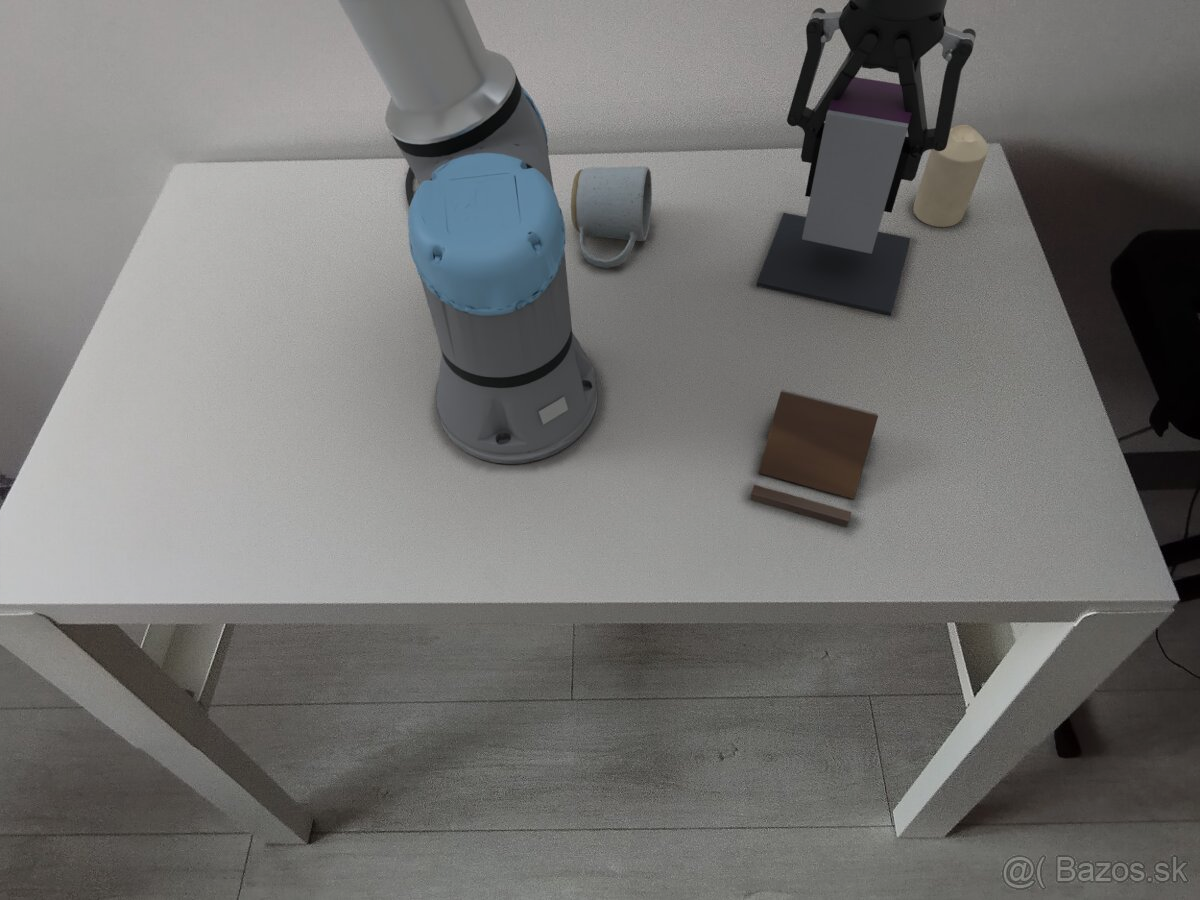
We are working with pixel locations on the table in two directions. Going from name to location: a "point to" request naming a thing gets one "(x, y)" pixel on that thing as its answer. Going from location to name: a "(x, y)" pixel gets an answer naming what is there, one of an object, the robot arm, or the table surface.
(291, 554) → the table surface
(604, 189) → the ceramic mug
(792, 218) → the mat
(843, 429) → the phone stand
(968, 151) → the candle
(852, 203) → the grey box
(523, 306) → the robot arm
